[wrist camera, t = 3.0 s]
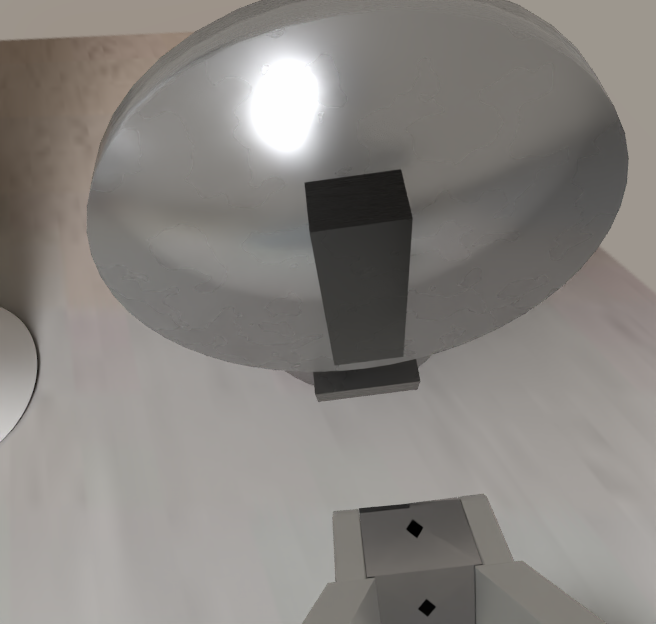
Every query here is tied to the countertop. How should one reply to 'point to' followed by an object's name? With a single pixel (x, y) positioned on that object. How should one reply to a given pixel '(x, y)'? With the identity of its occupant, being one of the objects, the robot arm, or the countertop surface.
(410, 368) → the cooker pot
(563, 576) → the countertop surface
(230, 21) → the cooker lid
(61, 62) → the countertop surface
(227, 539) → the countertop surface
